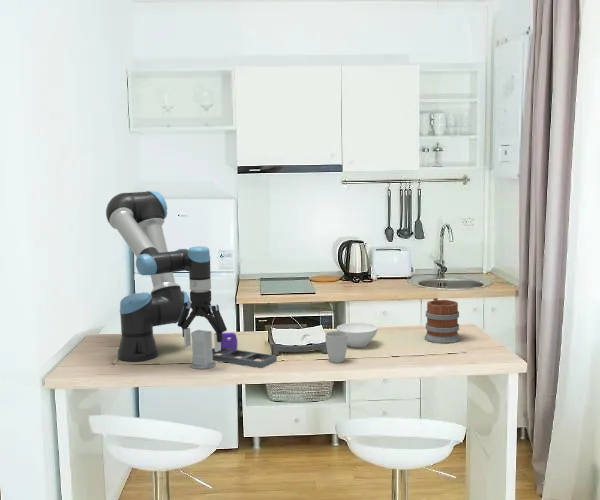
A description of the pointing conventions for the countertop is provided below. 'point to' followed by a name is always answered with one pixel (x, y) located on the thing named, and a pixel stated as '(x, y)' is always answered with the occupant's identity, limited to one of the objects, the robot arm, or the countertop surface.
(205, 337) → the skincare box
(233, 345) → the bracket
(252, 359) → the dark gray compartment tray
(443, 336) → the mug
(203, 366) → the coaster
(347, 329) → the bowl
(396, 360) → the countertop surface
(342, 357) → the cup
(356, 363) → the countertop surface
